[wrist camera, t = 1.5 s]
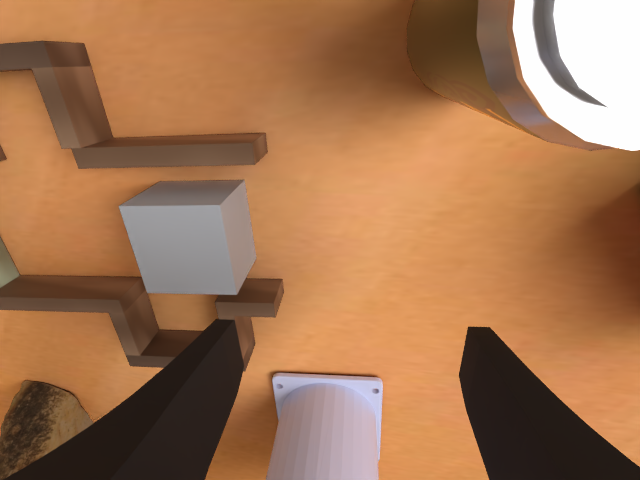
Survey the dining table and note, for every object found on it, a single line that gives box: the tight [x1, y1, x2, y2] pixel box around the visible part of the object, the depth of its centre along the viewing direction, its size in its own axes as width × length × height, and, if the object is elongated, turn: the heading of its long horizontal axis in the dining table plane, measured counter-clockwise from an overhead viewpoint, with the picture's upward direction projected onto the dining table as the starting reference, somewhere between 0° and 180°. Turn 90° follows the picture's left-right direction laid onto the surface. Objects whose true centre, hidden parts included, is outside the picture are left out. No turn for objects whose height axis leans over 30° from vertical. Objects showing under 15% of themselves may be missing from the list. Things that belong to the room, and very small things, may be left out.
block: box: [119, 180, 256, 295], centre depth 19 cm, size 5×5×4 cm
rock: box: [0, 380, 94, 480], centre depth 29 cm, size 11×9×10 cm
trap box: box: [0, 41, 284, 371], centre depth 20 cm, size 19×20×2 cm
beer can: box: [407, 0, 640, 151], centre depth 10 cm, size 5×5×12 cm
